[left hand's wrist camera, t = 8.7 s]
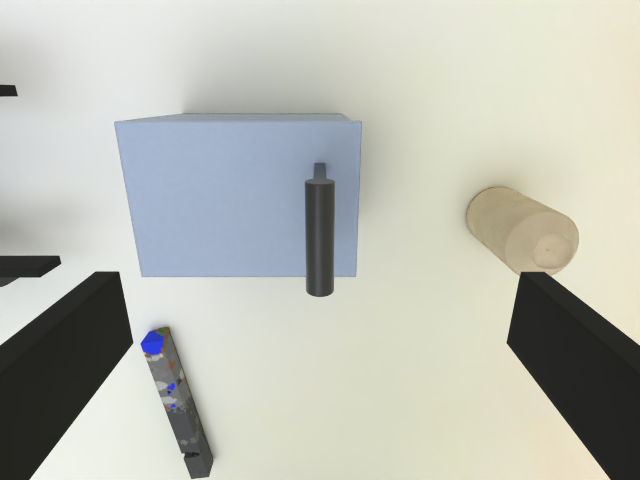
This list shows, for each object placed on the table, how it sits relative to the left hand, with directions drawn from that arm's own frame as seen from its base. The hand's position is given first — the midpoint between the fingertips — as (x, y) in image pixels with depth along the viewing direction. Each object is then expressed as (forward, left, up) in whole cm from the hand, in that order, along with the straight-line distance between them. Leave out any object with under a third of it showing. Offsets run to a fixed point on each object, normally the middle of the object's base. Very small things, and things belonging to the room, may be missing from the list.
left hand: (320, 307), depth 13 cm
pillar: (+1, +31, -25) cm, 40 cm away
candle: (-17, -4, -25) cm, 30 cm away
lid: (+4, +2, -14) cm, 14 cm away
